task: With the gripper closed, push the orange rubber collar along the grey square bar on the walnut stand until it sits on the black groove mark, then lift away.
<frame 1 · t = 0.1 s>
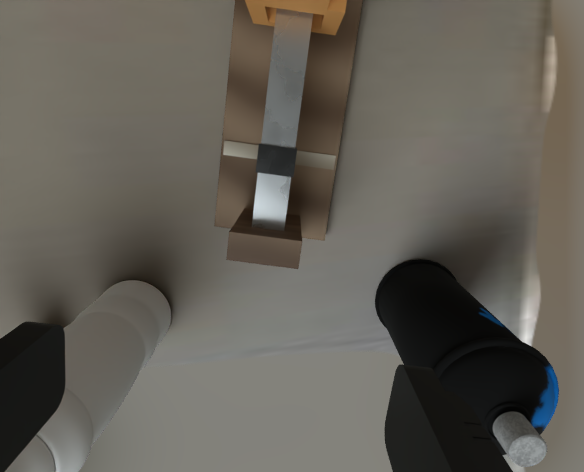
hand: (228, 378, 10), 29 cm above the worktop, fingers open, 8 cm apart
rig: (287, 96, 36), on the worktop
aerosol can: (416, 298, 41), on the worktop
grey square bar: (285, 88, 29), point 6 cm above the worktop
water bottle: (138, 310, 41), on the worktop
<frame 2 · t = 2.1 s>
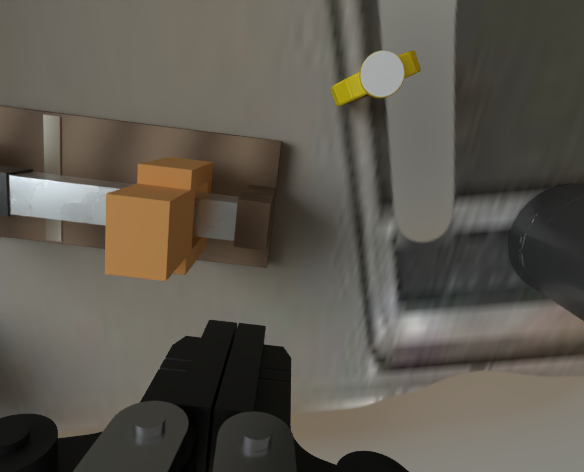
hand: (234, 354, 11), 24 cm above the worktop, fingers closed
watch: (367, 84, 32), on the worktop
rig: (126, 185, 34), on the worktop
collar: (167, 217, 25), point 9 cm above the worktop, slide at -6.0 cm
grey square bar: (83, 199, 27), point 6 cm above the worktop
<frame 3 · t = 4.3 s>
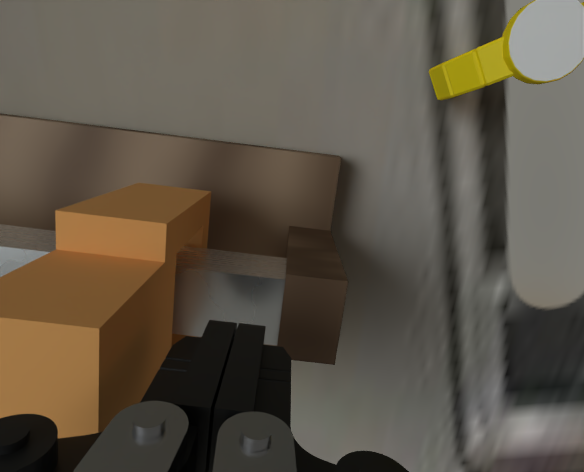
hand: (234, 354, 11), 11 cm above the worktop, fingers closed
watch: (477, 65, 20), on the worktop
rig: (95, 224, 22), on the worktop
collar: (124, 306, 13), point 9 cm above the worktop, slide at -5.1 cm, touching gripper
grey square bar: (4, 267, 15), point 6 cm above the worktop
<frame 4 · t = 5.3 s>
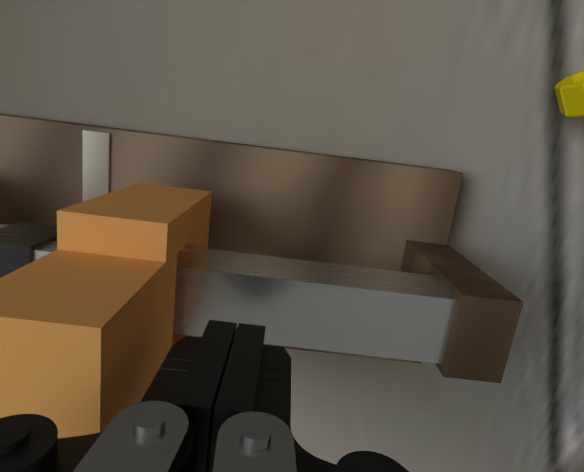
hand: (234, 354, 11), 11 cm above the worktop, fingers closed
rig: (205, 237, 22), on the worktop
collar: (125, 306, 13), point 9 cm above the worktop, slide at 0.7 cm, touching gripper
grey square bar: (165, 285, 15), point 6 cm above the worktop
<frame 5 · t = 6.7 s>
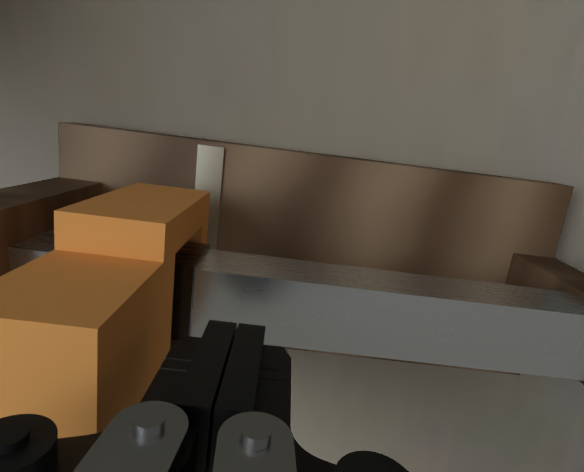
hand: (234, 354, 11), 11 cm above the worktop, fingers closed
rig: (305, 249, 22), on the worktop
collar: (123, 306, 13), point 9 cm above the worktop, slide at 6.0 cm, touching gripper
grey square bar: (309, 302, 15), point 6 cm above the worktop
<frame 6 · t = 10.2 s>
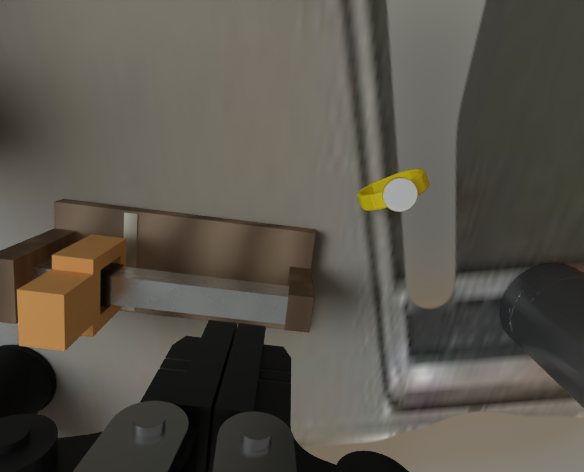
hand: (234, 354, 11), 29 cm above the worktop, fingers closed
watch: (385, 185, 39), on the worktop
rig: (186, 264, 41), on the worktop
collar: (80, 291, 32), point 9 cm above the worktop, slide at 6.0 cm
aerosol can: (19, 378, 44), on the worktop
grey square bar: (165, 290, 34), point 6 cm above the worktop
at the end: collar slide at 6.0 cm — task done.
